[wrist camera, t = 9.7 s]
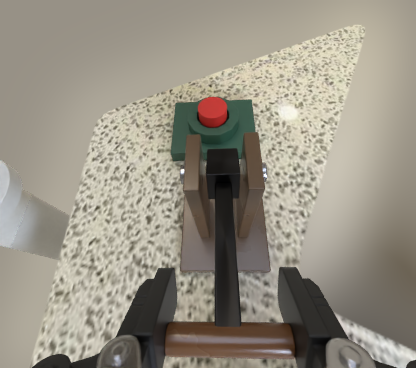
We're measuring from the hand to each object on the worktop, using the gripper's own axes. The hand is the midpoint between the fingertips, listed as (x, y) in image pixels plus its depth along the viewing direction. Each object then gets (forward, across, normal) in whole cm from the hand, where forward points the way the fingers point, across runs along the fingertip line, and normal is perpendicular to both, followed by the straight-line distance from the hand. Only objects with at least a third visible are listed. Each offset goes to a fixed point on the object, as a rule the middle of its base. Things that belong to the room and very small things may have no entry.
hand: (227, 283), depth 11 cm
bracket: (+15, 0, -4) cm, 15 cm away
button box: (+24, -1, +6) cm, 24 cm away
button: (+21, -1, +8) cm, 23 cm away
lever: (+3, 0, +1) cm, 3 cm away
